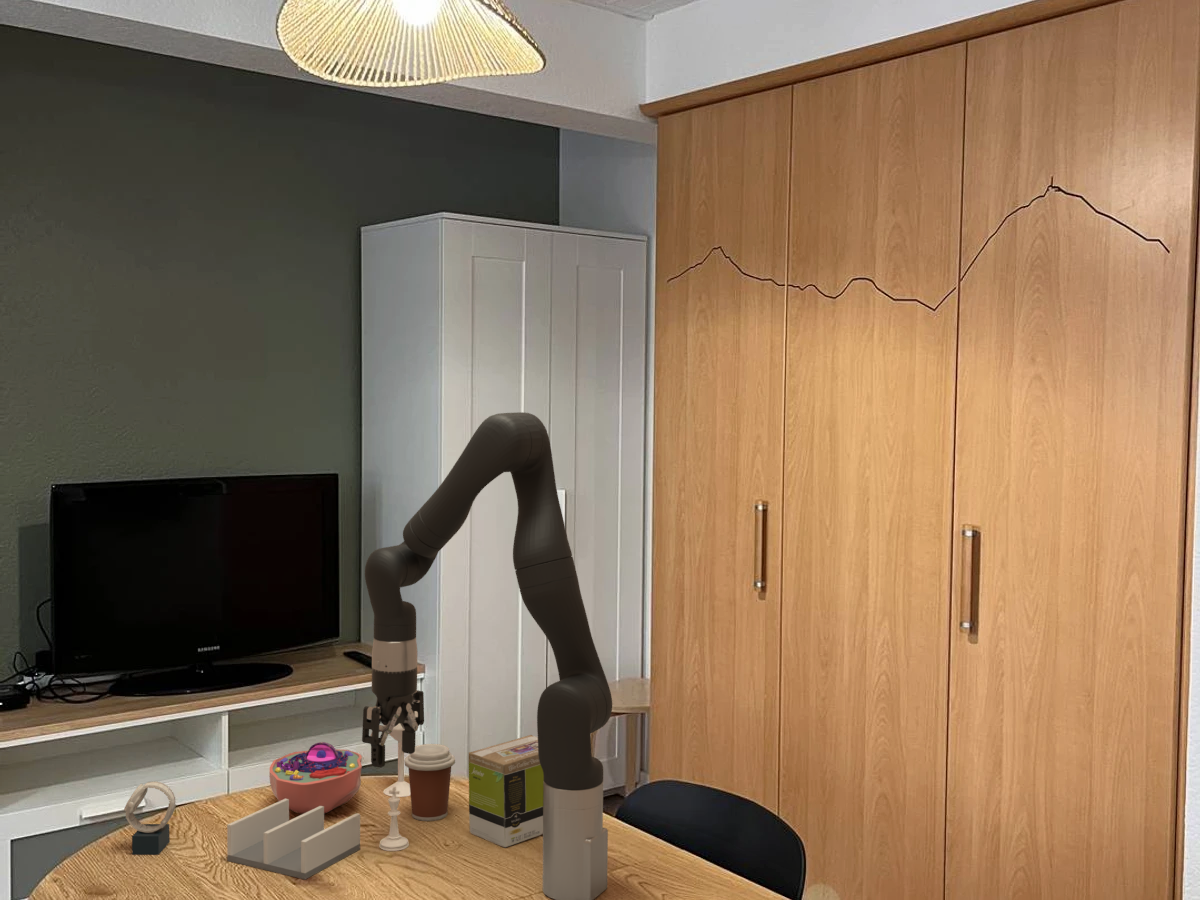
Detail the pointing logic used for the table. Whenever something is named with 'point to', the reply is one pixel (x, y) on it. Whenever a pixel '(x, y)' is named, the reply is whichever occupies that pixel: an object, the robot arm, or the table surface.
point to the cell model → (316, 777)
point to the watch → (149, 835)
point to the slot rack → (291, 840)
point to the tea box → (506, 792)
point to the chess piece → (394, 827)
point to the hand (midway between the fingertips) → (393, 759)
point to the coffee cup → (429, 781)
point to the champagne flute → (399, 765)
